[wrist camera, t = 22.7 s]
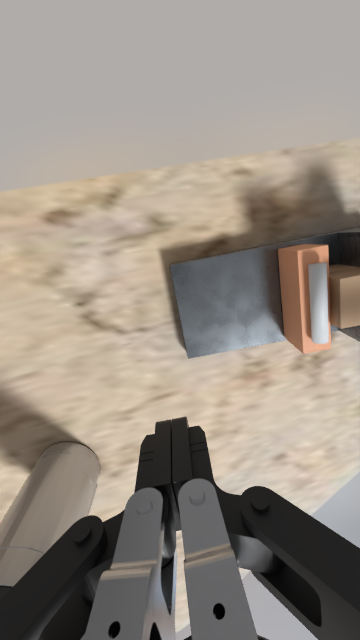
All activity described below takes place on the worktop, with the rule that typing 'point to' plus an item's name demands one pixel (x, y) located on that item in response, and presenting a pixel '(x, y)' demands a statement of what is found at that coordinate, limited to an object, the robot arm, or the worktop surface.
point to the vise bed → (245, 294)
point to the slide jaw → (305, 296)
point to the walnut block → (344, 295)
